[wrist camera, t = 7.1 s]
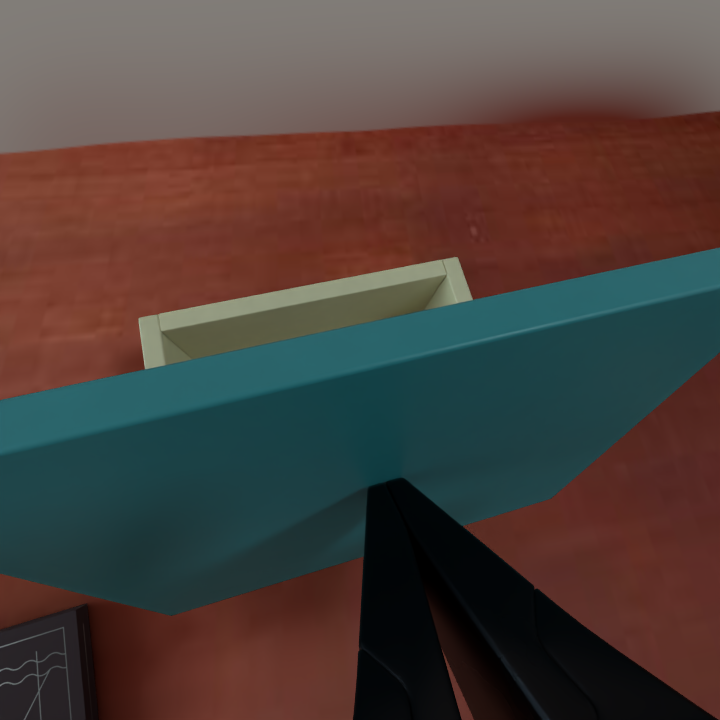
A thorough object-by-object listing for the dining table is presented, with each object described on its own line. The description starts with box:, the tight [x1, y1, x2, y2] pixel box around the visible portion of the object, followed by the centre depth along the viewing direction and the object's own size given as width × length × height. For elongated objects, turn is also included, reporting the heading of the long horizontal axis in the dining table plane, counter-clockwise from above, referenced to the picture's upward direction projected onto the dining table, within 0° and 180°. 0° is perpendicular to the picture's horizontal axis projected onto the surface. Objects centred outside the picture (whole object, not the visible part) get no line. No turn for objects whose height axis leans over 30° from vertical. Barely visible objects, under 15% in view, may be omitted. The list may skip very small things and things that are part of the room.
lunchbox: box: [139, 257, 473, 369], centre depth 19 cm, size 11×14×7 cm
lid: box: [0, 248, 720, 616], centre depth 10 cm, size 11×14×1 cm
